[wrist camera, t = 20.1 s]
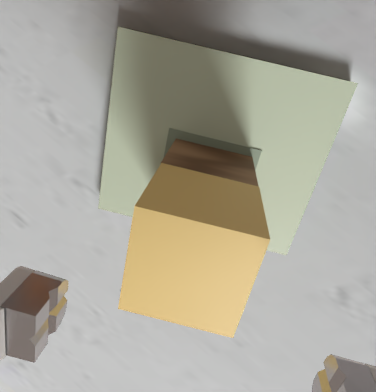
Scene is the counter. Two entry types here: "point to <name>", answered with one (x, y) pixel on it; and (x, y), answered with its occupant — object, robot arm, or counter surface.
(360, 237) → the counter surface
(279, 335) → the counter surface
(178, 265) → the ochre block
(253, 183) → the walnut block
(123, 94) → the plate
